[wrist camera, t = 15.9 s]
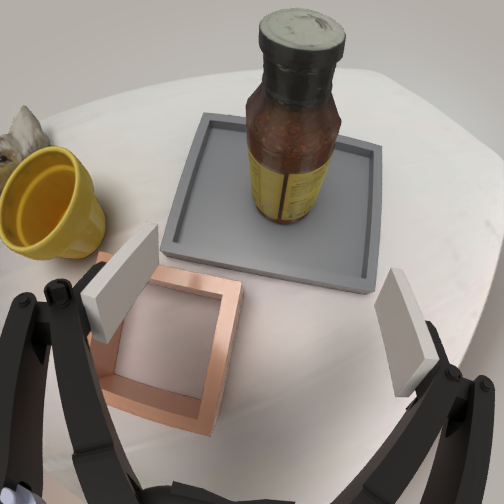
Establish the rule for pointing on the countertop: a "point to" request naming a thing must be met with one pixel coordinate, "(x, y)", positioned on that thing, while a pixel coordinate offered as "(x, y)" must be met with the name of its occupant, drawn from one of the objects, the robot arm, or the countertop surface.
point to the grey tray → (269, 232)
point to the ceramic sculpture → (20, 143)
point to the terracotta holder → (207, 410)
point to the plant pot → (51, 208)
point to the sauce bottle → (293, 112)
